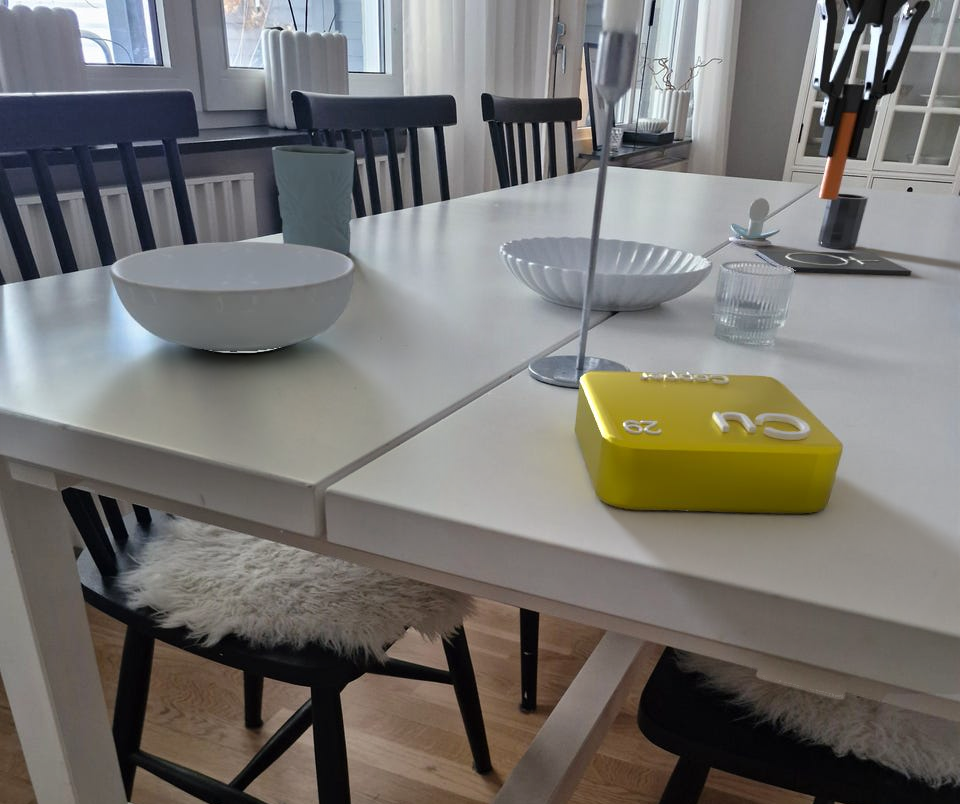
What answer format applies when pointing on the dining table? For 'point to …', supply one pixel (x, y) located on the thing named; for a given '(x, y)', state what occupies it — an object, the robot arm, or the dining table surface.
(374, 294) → the dining table surface
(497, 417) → the dining table surface
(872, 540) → the dining table surface
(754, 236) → the pacifier
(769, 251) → the slate board
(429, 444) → the dining table surface
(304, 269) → the serving bowl
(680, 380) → the element tile
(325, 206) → the green vase
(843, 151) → the marker
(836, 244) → the pen pot
